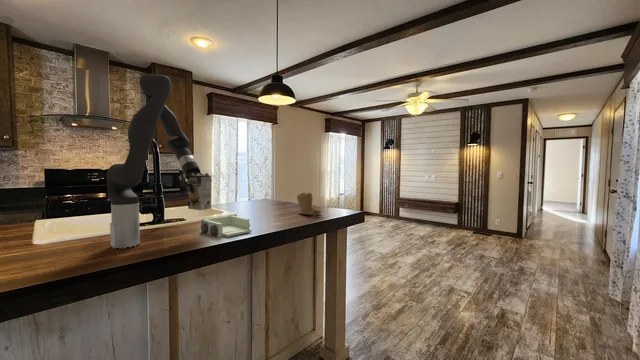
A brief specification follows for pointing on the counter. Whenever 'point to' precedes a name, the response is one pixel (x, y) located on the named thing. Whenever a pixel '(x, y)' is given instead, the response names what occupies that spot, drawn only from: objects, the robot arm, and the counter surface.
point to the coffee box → (200, 192)
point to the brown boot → (306, 204)
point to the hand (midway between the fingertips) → (201, 191)
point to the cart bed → (225, 226)
